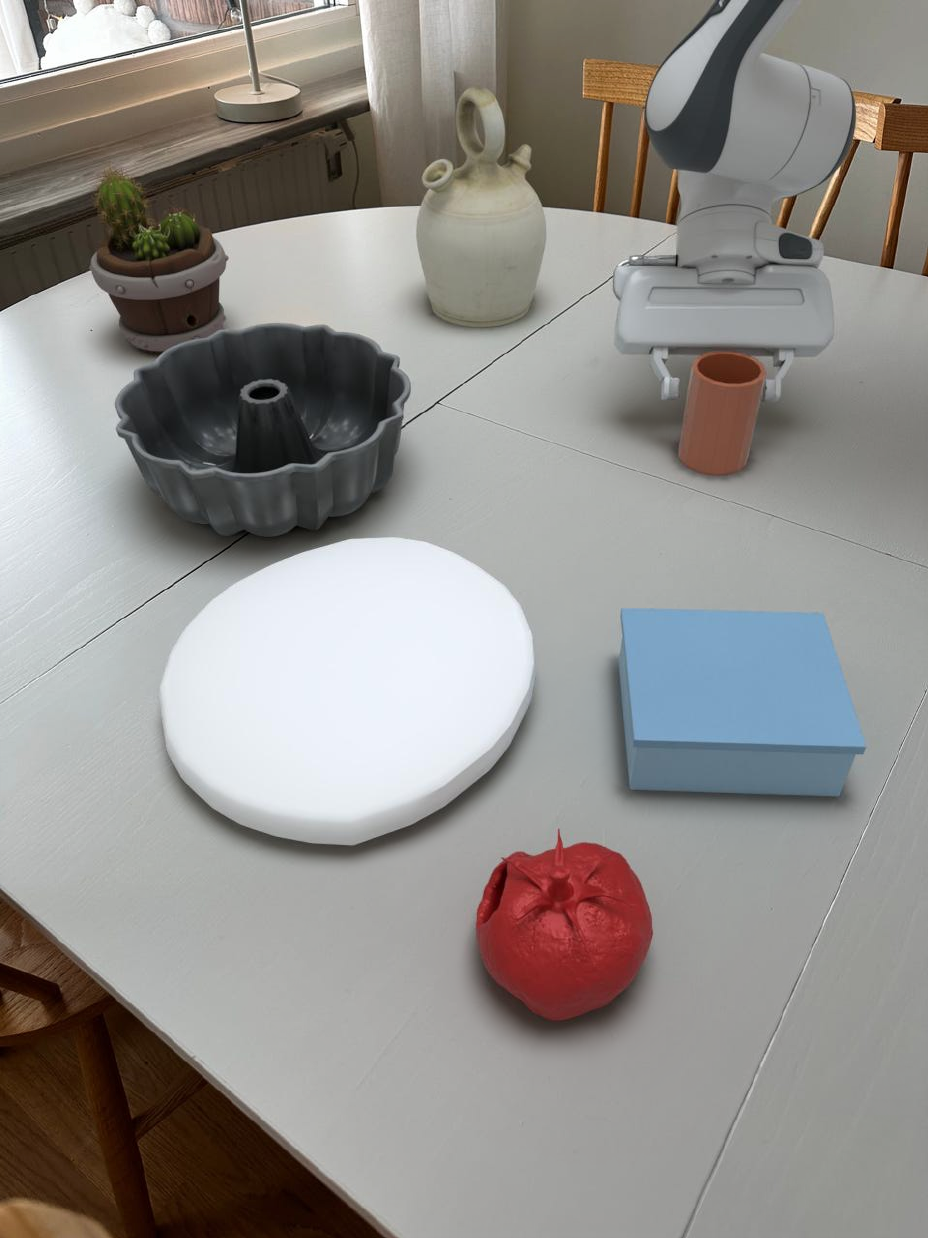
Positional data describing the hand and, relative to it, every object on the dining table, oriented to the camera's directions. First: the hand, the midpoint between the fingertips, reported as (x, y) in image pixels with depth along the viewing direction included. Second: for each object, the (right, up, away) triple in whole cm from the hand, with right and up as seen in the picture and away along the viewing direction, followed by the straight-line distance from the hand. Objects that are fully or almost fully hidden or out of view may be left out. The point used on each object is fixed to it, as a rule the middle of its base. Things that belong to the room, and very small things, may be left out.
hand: (720, 399), depth 93 cm
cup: (0, -5, +3) cm, 6 cm away
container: (-6, -29, -22) cm, 37 cm away
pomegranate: (-19, -41, -34) cm, 57 cm away
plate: (-33, -27, -19) cm, 46 cm away
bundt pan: (-42, -8, +2) cm, 43 cm away
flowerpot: (-59, +12, +24) cm, 65 cm away
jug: (-22, +18, +29) cm, 40 cm away
